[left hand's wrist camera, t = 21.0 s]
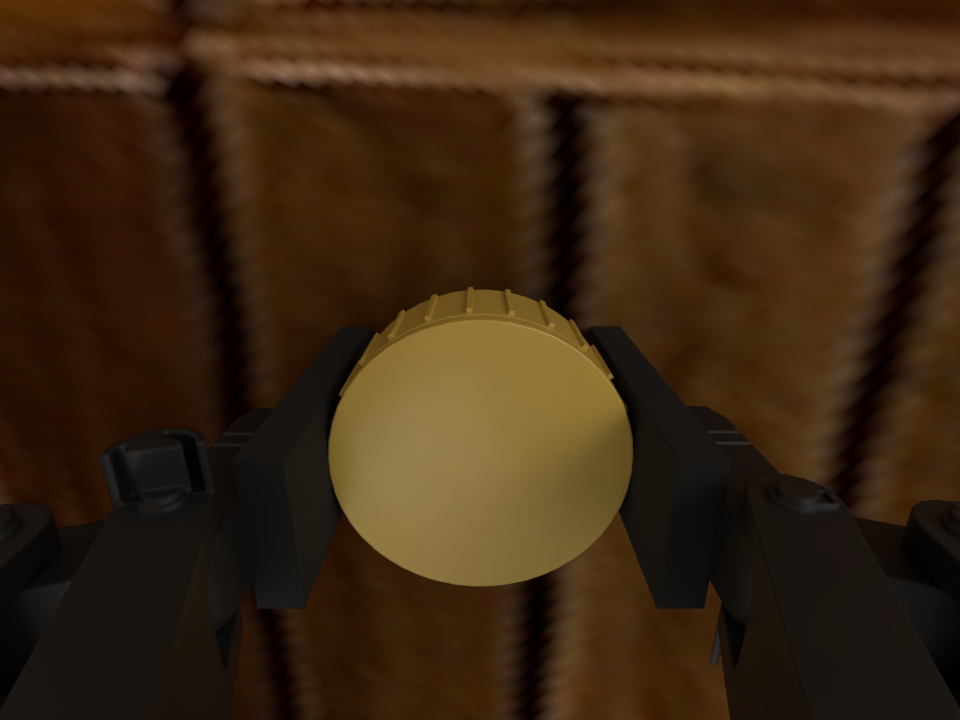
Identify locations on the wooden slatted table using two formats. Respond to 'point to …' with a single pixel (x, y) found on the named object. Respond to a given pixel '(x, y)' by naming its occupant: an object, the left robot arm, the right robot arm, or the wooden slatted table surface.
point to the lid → (480, 440)
